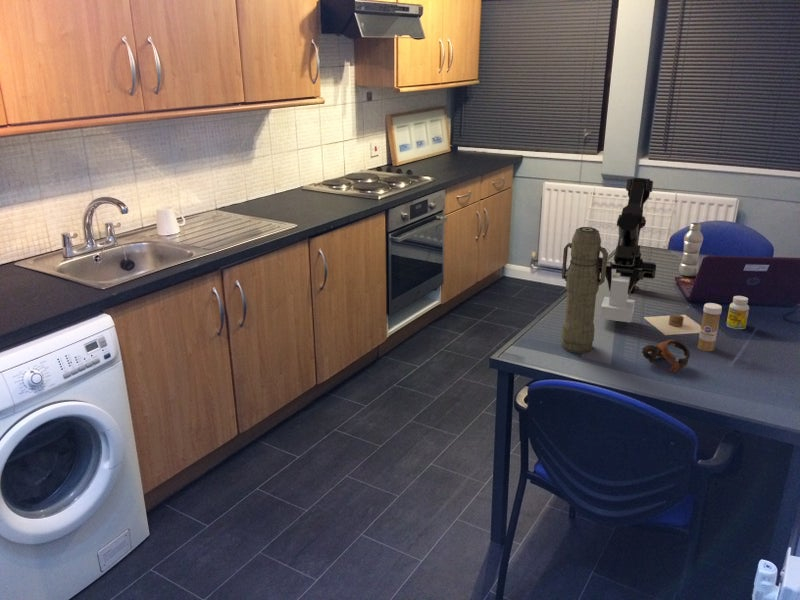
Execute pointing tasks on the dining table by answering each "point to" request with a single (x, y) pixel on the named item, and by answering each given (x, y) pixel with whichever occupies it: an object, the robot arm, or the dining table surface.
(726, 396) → the dining table surface
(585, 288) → the thermos
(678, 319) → the puck
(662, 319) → the mat
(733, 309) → the supplement bottle
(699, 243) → the plastic bottle
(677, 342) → the pottery mug
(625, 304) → the cover
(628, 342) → the dining table surface
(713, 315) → the sprinkles bottle
